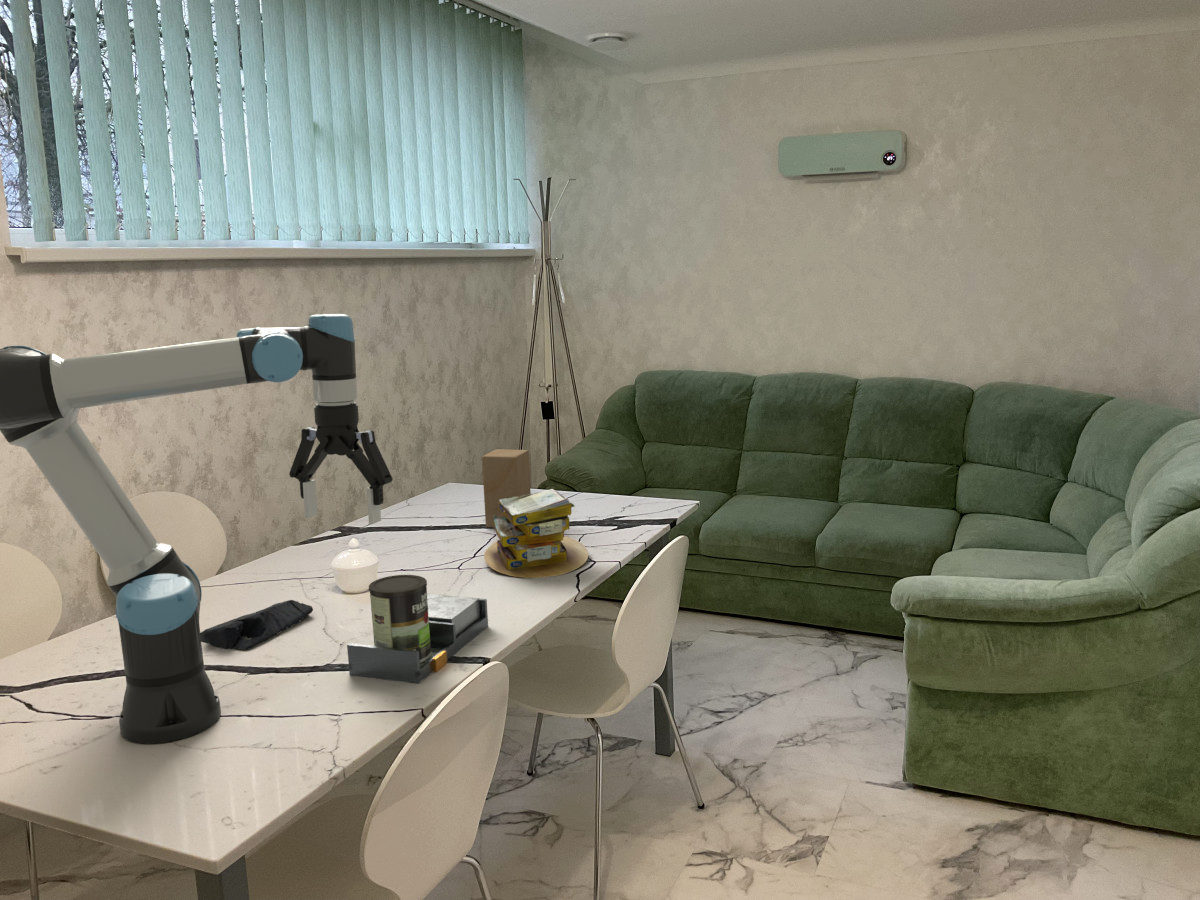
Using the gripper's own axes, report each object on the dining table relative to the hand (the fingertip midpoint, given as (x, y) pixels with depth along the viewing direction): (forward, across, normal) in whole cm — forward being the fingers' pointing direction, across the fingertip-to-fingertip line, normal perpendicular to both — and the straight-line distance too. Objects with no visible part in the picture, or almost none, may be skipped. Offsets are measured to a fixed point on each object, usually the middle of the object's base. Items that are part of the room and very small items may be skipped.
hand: (342, 519), depth 181 cm
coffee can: (+26, -10, -2) cm, 28 cm away
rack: (+27, -10, -9) cm, 30 cm away
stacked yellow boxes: (+26, -8, -65) cm, 70 cm away
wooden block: (+26, +14, -94) cm, 98 cm away
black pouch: (+28, +28, -9) cm, 41 cm away
